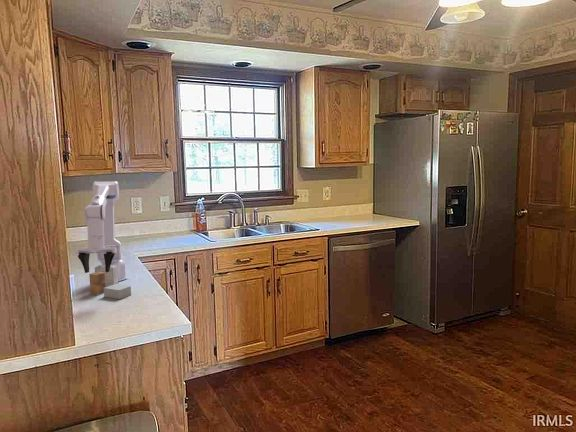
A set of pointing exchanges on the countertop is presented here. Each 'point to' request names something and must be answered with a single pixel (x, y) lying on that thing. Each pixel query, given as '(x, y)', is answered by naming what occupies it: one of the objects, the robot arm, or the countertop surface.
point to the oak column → (97, 282)
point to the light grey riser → (117, 291)
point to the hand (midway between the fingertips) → (97, 272)
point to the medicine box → (108, 274)
